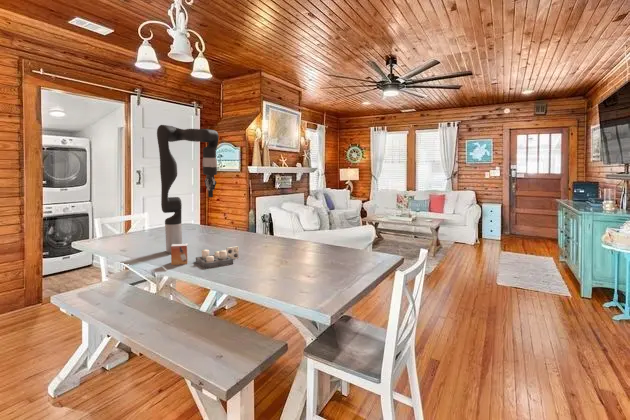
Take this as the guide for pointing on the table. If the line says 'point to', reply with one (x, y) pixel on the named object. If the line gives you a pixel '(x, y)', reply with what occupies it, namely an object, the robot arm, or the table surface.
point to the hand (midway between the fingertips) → (210, 197)
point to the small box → (179, 254)
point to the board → (215, 263)
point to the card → (233, 252)
